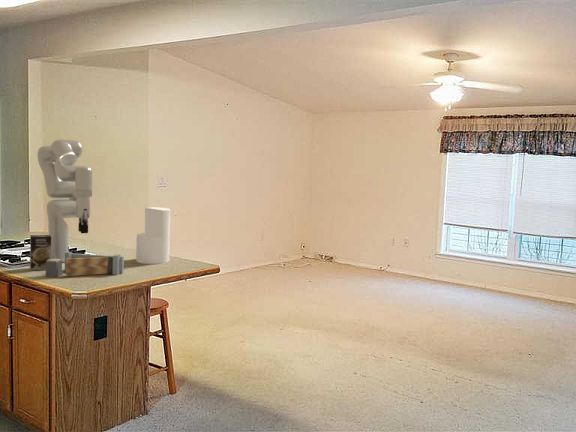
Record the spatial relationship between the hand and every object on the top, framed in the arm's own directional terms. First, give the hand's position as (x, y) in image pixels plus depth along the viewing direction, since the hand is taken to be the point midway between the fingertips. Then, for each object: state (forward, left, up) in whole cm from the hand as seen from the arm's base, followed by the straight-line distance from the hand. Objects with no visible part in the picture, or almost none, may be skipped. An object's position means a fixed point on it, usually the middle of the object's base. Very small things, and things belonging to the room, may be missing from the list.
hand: (83, 231), depth 259 cm
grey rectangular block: (-9, -10, -20) cm, 24 cm away
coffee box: (-22, +2, -20) cm, 30 cm away
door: (+5, -4, -19) cm, 20 cm away
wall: (+4, +2, -19) cm, 20 cm away
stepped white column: (+21, +38, -20) cm, 48 cm away
